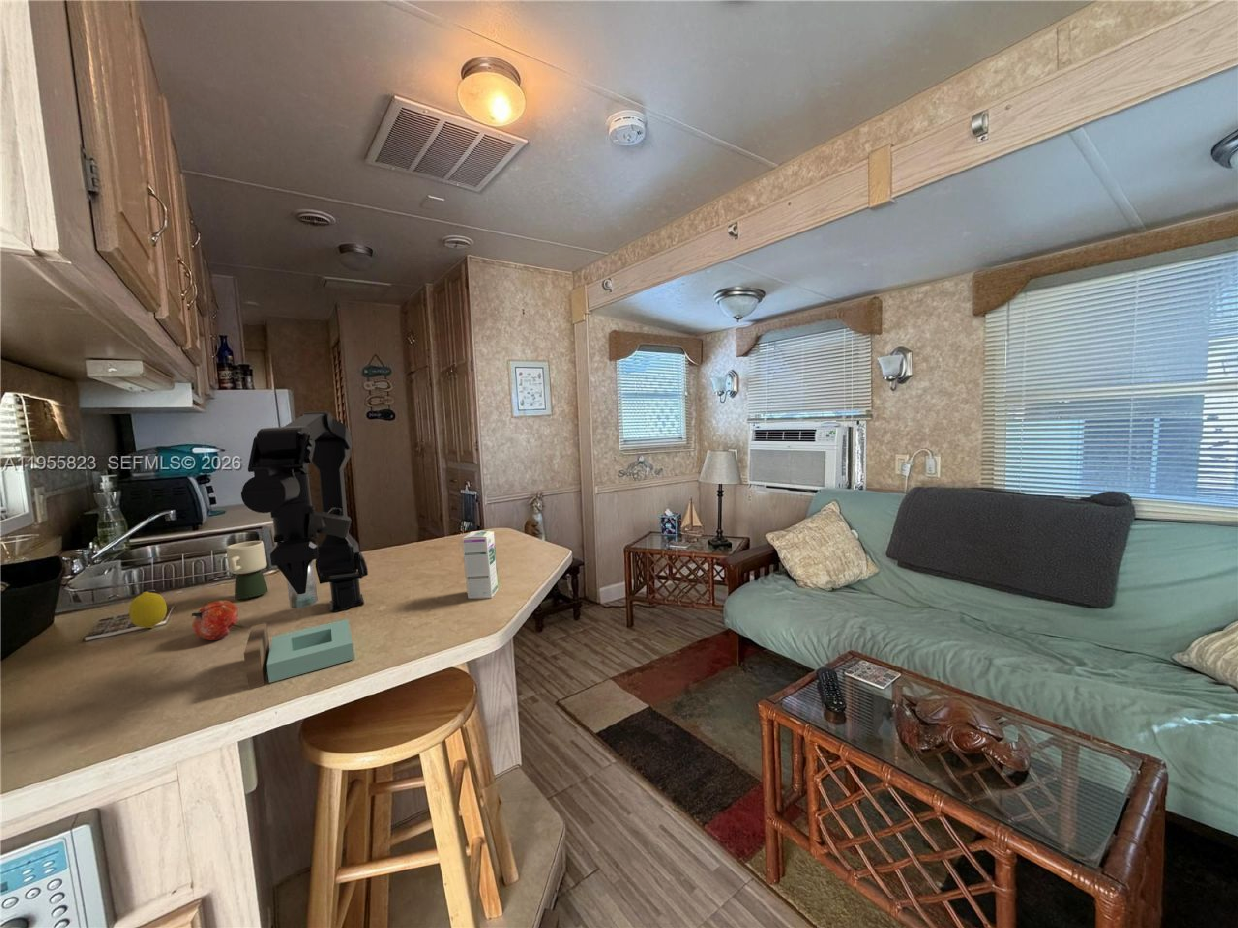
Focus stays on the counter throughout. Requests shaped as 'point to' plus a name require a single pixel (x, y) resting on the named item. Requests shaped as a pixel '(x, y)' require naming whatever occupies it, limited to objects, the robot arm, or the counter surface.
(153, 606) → the lemon
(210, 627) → the red rounded lumpy piece
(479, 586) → the syrup box
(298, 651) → the socket block
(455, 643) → the counter surface
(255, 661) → the backstop wall
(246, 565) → the character mug
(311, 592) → the dowel
